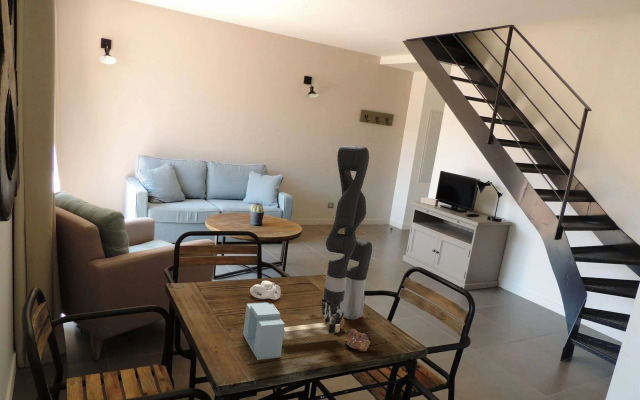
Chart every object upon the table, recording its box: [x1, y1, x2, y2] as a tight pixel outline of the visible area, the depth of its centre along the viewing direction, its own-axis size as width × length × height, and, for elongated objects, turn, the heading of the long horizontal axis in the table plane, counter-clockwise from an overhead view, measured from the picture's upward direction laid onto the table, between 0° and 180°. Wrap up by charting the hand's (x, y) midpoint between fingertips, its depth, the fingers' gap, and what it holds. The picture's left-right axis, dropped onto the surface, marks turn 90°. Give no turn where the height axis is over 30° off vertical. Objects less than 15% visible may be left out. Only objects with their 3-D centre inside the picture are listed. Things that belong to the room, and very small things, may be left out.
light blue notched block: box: [242, 302, 286, 361], centre depth 153 cm, size 8×17×14 cm, turn 26°
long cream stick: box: [283, 321, 341, 340], centre depth 162 cm, size 22×3×3 cm, turn 117°
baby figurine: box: [249, 280, 282, 301], centre depth 197 cm, size 9×13×9 cm
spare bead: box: [333, 317, 345, 329], centre depth 175 cm, size 4×5×5 cm
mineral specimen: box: [344, 328, 371, 352], centre depth 163 cm, size 12×8×7 cm
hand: (329, 330), depth 166 cm, fingers closed on long cream stick, 3 cm apart
